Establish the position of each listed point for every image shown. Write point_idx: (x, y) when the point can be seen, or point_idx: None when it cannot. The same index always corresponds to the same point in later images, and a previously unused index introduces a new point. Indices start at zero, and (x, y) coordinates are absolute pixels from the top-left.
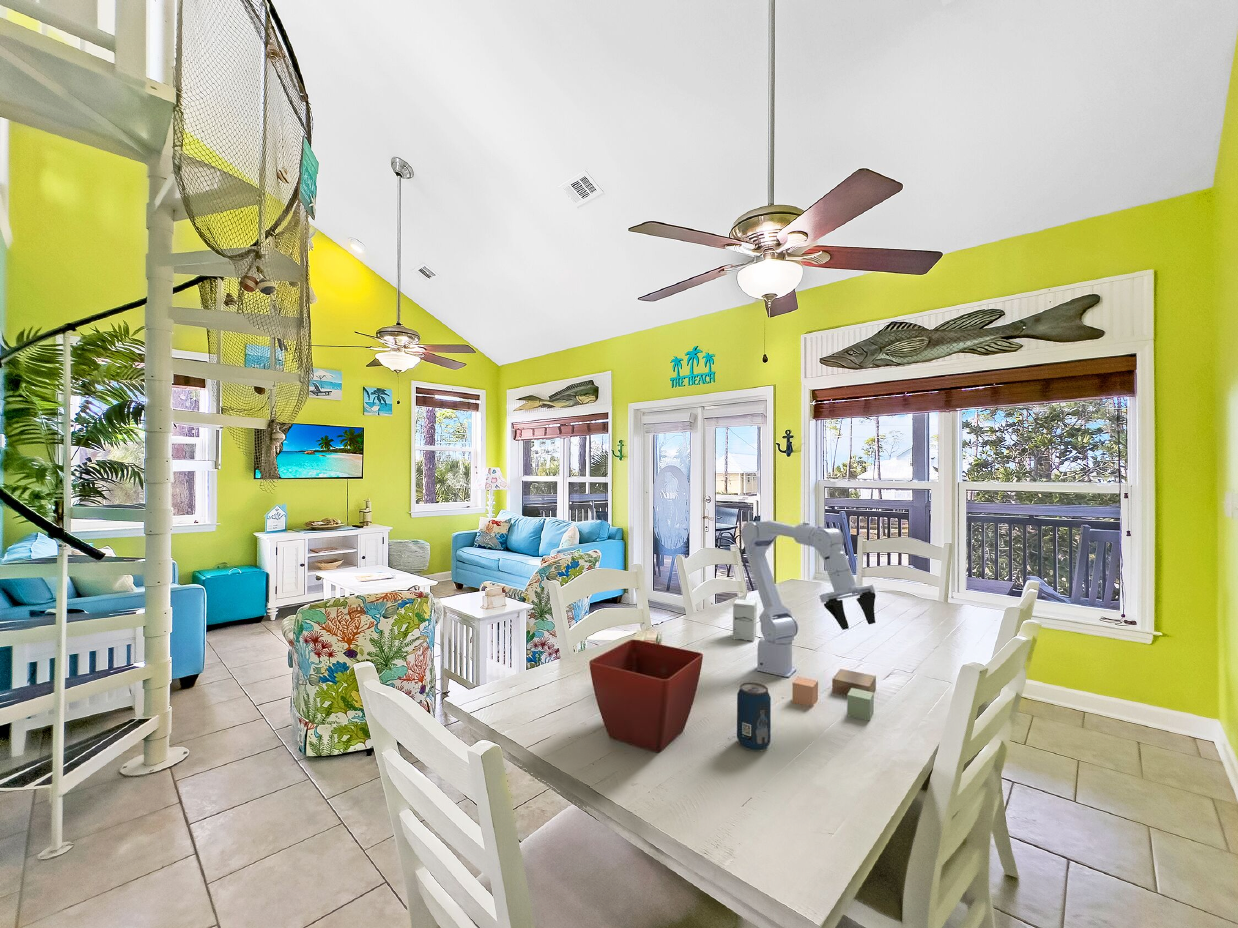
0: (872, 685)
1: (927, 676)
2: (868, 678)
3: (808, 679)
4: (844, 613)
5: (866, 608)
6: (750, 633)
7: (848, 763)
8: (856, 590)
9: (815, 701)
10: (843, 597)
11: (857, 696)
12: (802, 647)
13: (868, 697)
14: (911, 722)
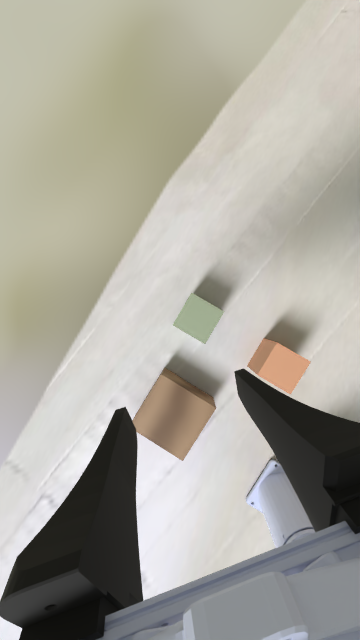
0: (147, 396)
1: (24, 478)
2: (147, 413)
3: (274, 379)
4: (270, 406)
5: (123, 485)
6: None
7: (269, 165)
8: (176, 633)
9: (256, 352)
10: (281, 555)
11: (208, 305)
12: None
13: (190, 301)
14: (132, 296)
